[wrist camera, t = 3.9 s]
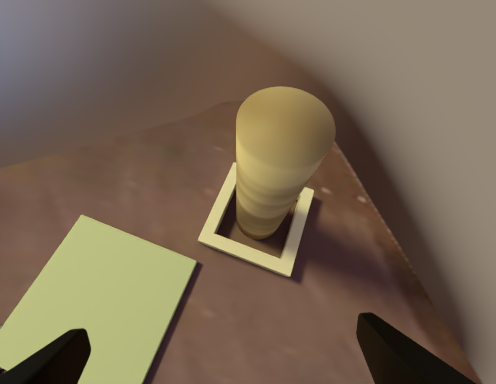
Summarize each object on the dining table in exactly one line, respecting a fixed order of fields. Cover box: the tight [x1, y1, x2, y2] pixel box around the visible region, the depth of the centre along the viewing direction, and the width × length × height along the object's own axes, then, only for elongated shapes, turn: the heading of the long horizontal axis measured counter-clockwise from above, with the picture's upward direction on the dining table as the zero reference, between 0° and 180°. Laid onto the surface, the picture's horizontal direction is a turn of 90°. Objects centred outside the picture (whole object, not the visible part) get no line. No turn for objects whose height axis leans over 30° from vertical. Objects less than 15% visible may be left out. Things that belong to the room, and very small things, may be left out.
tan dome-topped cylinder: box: [236, 87, 335, 240], centre depth 15 cm, size 4×4×13 cm
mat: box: [0, 215, 197, 384], centre depth 17 cm, size 11×11×1 cm
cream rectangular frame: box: [198, 163, 314, 277], centre depth 21 cm, size 8×8×1 cm
